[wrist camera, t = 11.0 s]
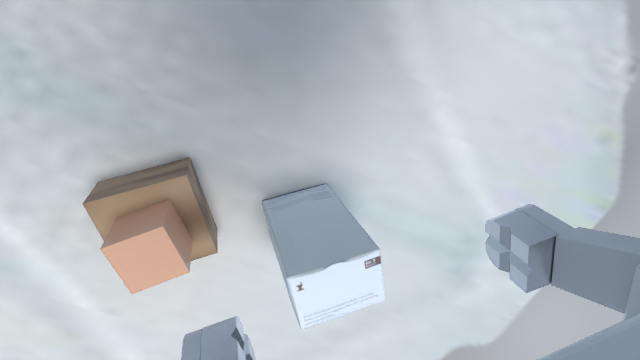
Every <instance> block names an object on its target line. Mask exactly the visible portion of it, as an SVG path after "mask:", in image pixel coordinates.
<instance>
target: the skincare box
mask: <svg viewBox="0 0 640 360" xmlns="http://www.w3.org/2000/svg"><path fill="white" fill-rule="evenodd" d="M263 208H264V212H265V216H266V220H267V224H268V228H269V232H270V236H271V240H272V244H273V247H274V250H275V253H276V256H277V259H278V262H279V265H280V268H281V271H282V274H283V278H284V281H285V284H286V287H287V290H288V294H289V297H290V300H291V303H292V306H293V309H294V312H295V314H296V317H297V320H298V323H299V326H300V328H301V330H303V329H306V328H309V327H312V326H315V325H317V324H320V323H323V322H325V321H328V320H331V319H334V318H336V317H339V316H342V315H345V314H348V313H350V312H353V311H356V310H359V309H362V308H364V307H367V306H370V305H373V304H376V303H379V302H382V301H385V292H384V284H383V275H382V266H381V254H380V248H379V247H378V246H377V245H376V244H375V242H374V241H373V240H372V239H371V238H370V236H369V235H368V234H367V233H366V231H365V230H364V229H363V228H362V226H361V225H360V224H359V223H358V222H357V220H356V219H355V218H354V217H353V215H352V214H351V213H350V212H349V210H348V209H347V208H346V207H345V205H344V204H343V203H342V202H341V201H340V199H339V198H338V197H337V196H336V194H335V193H334V192H333V191H332V189H331V188H330V187H329V186H328V184H324V185H320V186H317V187H313V188H309V189H305V190H302V191H298V192H294V193H291V194H287V195H283V196H280V197H277V198H273V199H269V200H265V201H263Z"/></svg>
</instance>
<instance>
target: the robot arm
mask: <svg viewBox="0 0 640 360" xmlns="http://www.w3.org/2000/svg"><path fill="white" fill-rule="evenodd" d="M485 231H486V232H487V233H488V234H489V237H488V239H487V241H486V252H487V254H488V256H489V259H490V260H491V261H492V263H493V264H494V265H495V266H496V267H497V268H498V269H499V270H502V271H506V272H509V276H510V279H511V280H512V281H513V282H514V283H515V284H516V285H517V286H519V287H520V288H521V289H522V290H523V291H524V292H525V293H528V292H531V291H533V290H536V289H538V288H541V287H544V286H546V285H549V284H551V285H552V286H555V287H558V288H560V289H563V290H565V291H568V292H570V293H573V294H575V295H578V296H581V297H583V298H586V299H588V300H591V301H593V302H596V303H599V304H601V305H604V306H606V307H609V308H611V309H614V310H617V311H619V312H622V313H624V314H625V315H624V320H623V321H622V322H620V323H618V324H615V325H613V326H611V327H609V328H606V329H604V330H602V331H600V332H597V333H595V334H594V335H591V336H589V337H586V338H584V339H582V340H580V341H578V342H575V343H573V344H571V345H569V346H566V347H564V348H562V349H560V350H558V351H555V352H553V353H551V354H549V355H546V356H544V357H542V358H540V359H538V360H640V238H635V237H630V236H625V235H619V234H614V233H608V232H602V231H597V230H592V229H587V228H581V227H579V228H576V229H575V228H573V227H571V226H569V225H568V224H566V223H564V222H563V221H561V220H559V219H557V218H556V217H554V216H552V215H551V214H549V213H547V212H545V211H544V210H542V209H540V208H539V207H537V206H535V205H532V204H528V205H525V206H523V207H520V208H518V209H515V210H513V211H511V212H508V213H505V214H503V215H500V216H498V217H495V218H493V219H490V220H488V221H487V222H486V225H485ZM181 360H255V355H254V351H253V347H252V344H251V342H250V339H249V337H248V335H246V334H244V333H243V325H242V323H241V321H240V319H239V317H237V316H236V317H233V318H230V319H227V320H224V321H221V322H219V323H216V324H213V325H210V326H207V327H204V328H203V329H200V330H197V331H194V332H191V333H189V334H186V335H185V337H184V339H183V346H182V356H181Z"/></svg>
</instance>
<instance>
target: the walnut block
mask: <svg viewBox="0 0 640 360" xmlns="http://www.w3.org/2000/svg"><path fill="white" fill-rule="evenodd" d="M168 199H171V201H172V203H173V205H174V207H175V209H176V211H177V212H178V214H179V216H180V218H181V220H182V222H183V224H184V225H185V227H186V229H187V231H188V233H189V235H190V236H191V238H192V240H193V243H192V253H191V261H192V260H196V259H199V258H202V257H205V256H208V255H212V254H215V253H217V227H216V224H215V222H214V219H213V217H212V214H211V212H210V209H209V206H208V204H207V201H206V199H205V196H204V194H203V191H202V188H201V186H200V183H199V181H198V178H197V175H196V173H195V170H194V168H193V165H192V163H191V160H190V158H186V159H183V160H179V161H175V162H171V163H168V164H164V165H160V166H157V167H153V168H149V169H146V170H142V171H138V172H134V173H131V174H127V175H123V176H120V177H116V178H112V179H108V180H105V181H101V182H98V183H97V185H96V186H95V187H94V189H93V190H92V192H91V193H90V194H89V196H88V197H87V198H86V200H85V201H84V203H83V205H84V207H85V209H86V210H87V212H88V214H89V216H90V217H91V219H92V221H93V223H94V224H95V226H96V228H97V230H98V232H99V233H100V235H101V237H102V239H103V240H104V241H105V239H106V237H107V235H108V233H109V231H110V229H111V227H112V225H113V223H114V221H115V219H116V218H117V217H120V216H123V215H126V214H129V213H132V212H134V211H137V210H140V209H143V208H146V207H148V206H151V205H154V204H157V203H160V202H162V201H165V200H168Z"/></svg>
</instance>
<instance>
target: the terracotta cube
mask: <svg viewBox="0 0 640 360" xmlns="http://www.w3.org/2000/svg"><path fill="white" fill-rule="evenodd" d="M192 243H193V240H192V238H191V236H190V235H189V233H188V231H187V229H186V227H185V225H184V224H183V222H182V220H181V218H180V216H179V214H178V212H177V211H176V209H175V207H174V205H173V203H172V201H171V199H168V200H165V201H162V202H160V203H157V204H154V205H151V206H148V207H146V208H143V209H140V210H137V211H134V212H132V213H129V214H126V215H123V216H120V217H117V218H116V219H115V221H114V223H113V225H112V227H111V229H110V231H109V233H108V235H107V237H106V239H105V241H104V243H103V245H102V247H101V251H102V252H103V254H104V255H105V257H106V258H107V259H108V261H109V262H110V264H111V265H112V267H113V268H114V269H115V271H116V272H117V274H118V275H119V276H120V278H121V279H122V281H123V282H124V284H125V285H126V286H127V288H128V289H129V291H130V292H131V294H134V293H136V292H139V291H142V290H144V289H147V288H149V287H152V286H155V285H157V284H160V283H162V282H165V281H168V280H170V279H173V278H175V277H178V276H181V275H183V274H186V273H189V271H190V262H191V253H192Z"/></svg>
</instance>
